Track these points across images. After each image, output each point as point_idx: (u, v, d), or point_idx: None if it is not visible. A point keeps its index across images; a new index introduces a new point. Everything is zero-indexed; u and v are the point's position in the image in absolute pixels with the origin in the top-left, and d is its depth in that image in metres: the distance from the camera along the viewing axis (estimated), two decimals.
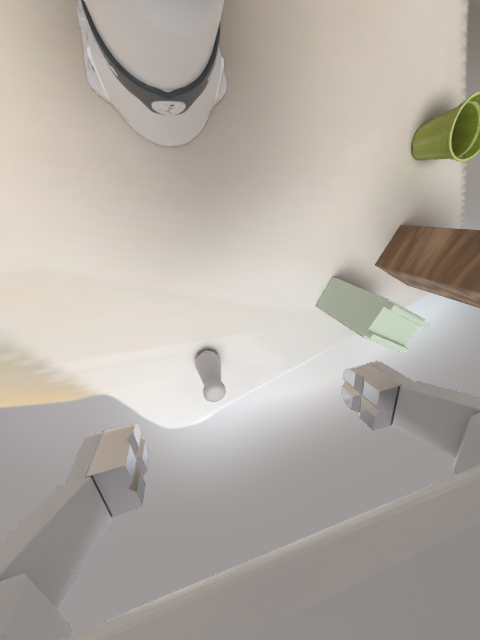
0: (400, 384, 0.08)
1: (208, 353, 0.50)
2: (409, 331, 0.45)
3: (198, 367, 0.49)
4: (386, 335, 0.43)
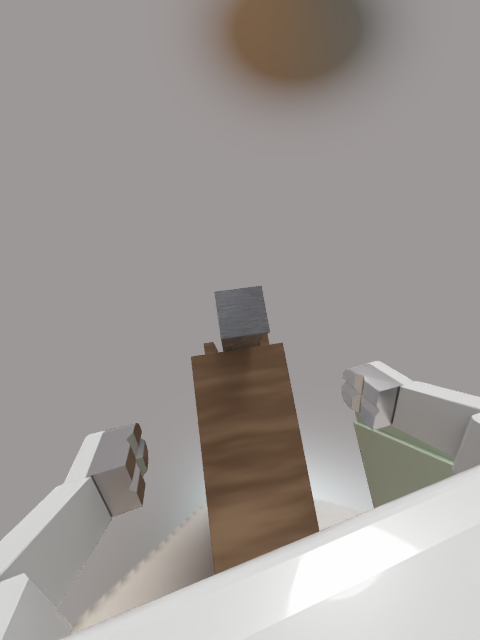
0: (400, 384, 0.08)
1: None
2: None
3: None
4: None
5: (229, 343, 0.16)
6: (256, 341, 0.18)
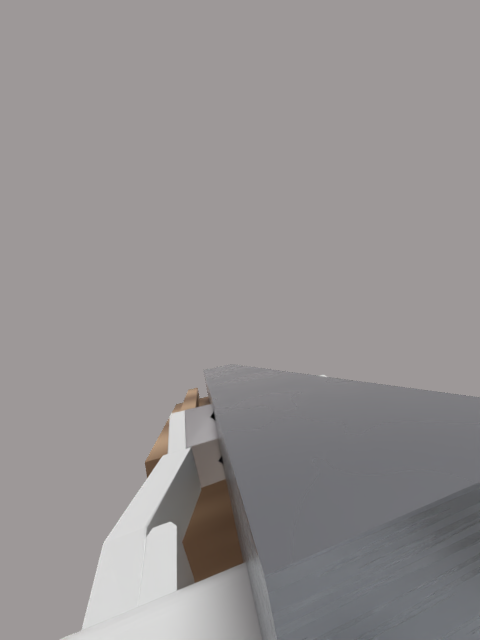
0: None
1: None
2: None
3: None
4: None
5: None
6: None
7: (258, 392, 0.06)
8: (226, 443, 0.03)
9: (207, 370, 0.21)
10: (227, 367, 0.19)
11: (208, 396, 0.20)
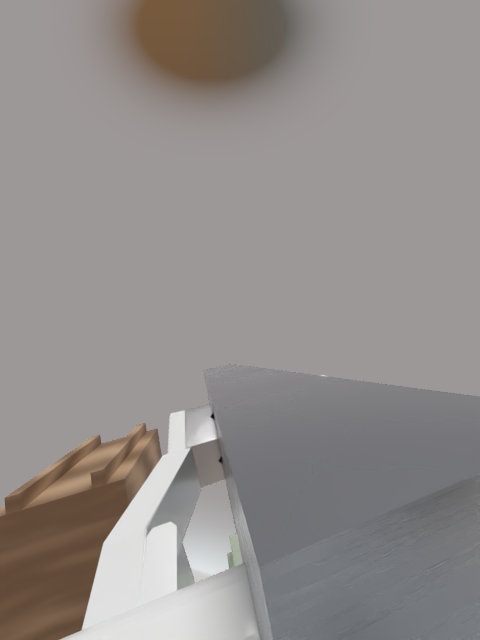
0: None
1: None
2: None
3: None
4: None
5: None
6: None
7: (257, 391, 0.06)
8: (224, 441, 0.03)
9: (207, 370, 0.21)
10: (227, 367, 0.19)
11: (208, 396, 0.20)
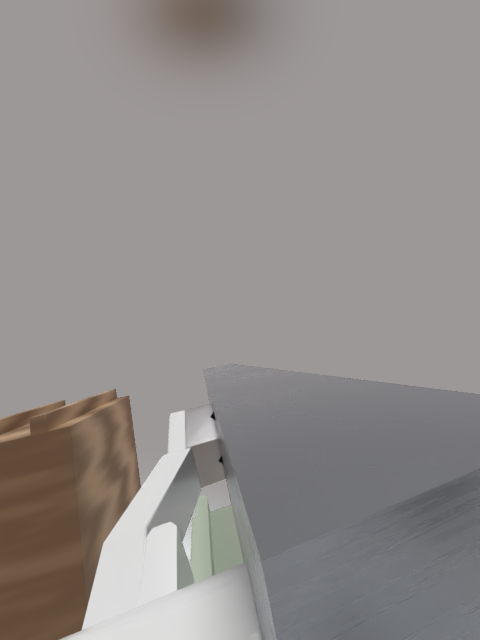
0: None
1: None
2: (233, 516, 0.18)
3: None
4: None
5: None
6: None
7: (257, 390, 0.06)
8: (225, 439, 0.03)
9: (207, 369, 0.21)
10: (227, 366, 0.19)
11: (208, 395, 0.20)
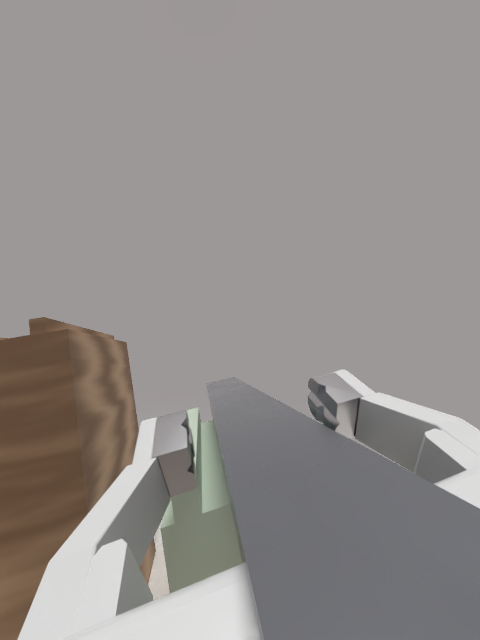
0: (361, 395, 0.07)
1: None
2: None
3: None
4: None
5: None
6: None
7: (271, 452, 0.05)
8: (250, 573, 0.03)
9: (210, 385, 0.21)
10: (231, 383, 0.19)
11: None
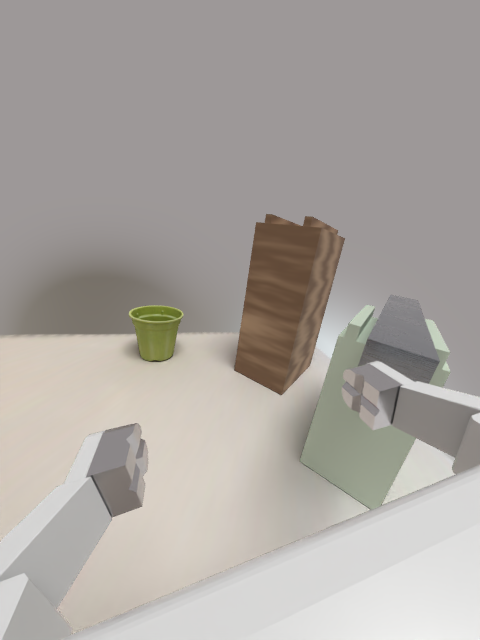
0: (400, 384, 0.08)
1: None
2: None
3: None
4: None
5: None
6: None
7: (396, 327, 0.15)
8: (372, 330, 0.13)
9: (393, 297, 0.28)
10: (409, 303, 0.25)
11: None
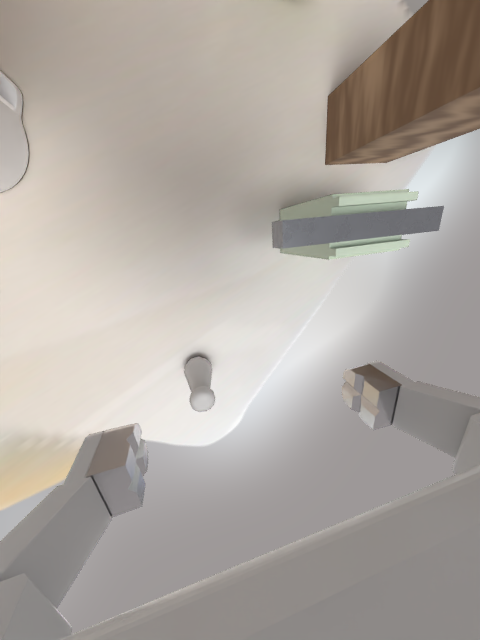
0: (400, 384, 0.08)
1: (191, 361, 0.45)
2: None
3: None
4: (362, 240, 0.31)
5: None
6: None
7: (318, 228, 0.26)
8: (297, 219, 0.25)
9: (430, 210, 0.29)
10: (412, 225, 0.29)
11: None
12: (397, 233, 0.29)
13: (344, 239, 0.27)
